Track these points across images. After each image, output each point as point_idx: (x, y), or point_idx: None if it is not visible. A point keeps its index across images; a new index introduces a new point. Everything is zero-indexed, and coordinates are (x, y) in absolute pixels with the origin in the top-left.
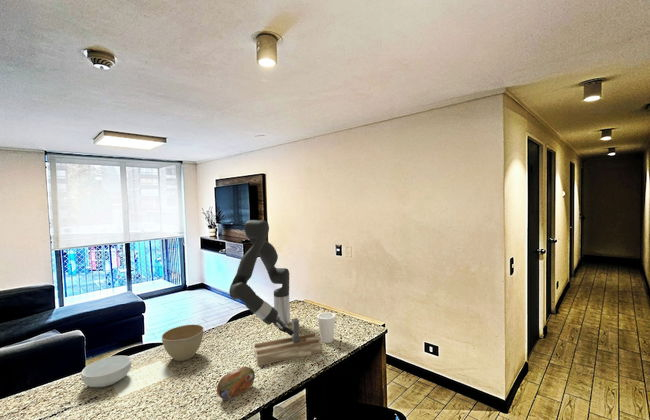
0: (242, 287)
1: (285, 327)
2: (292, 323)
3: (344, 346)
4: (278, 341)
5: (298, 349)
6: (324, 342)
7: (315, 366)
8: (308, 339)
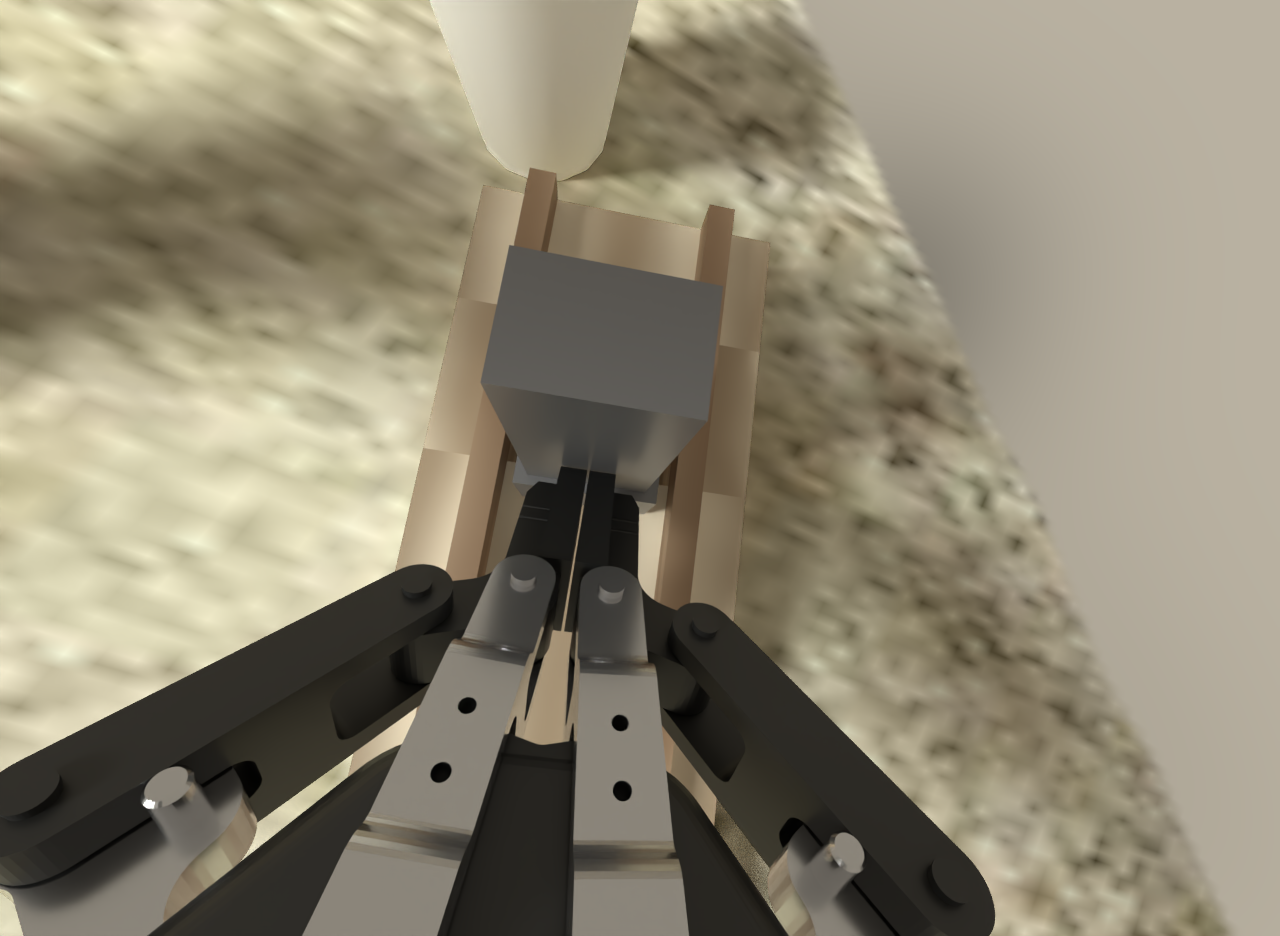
0: None
1: (836, 737)
2: (534, 423)
3: (743, 79)
4: None
5: (740, 502)
6: (580, 170)
7: (942, 450)
8: None
